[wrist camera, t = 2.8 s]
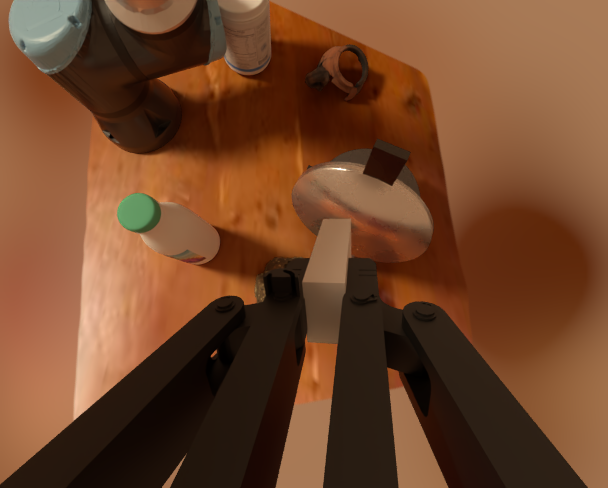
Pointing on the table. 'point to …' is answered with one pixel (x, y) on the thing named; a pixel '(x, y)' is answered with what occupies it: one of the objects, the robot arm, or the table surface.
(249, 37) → the supplement tub
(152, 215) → the milk bottle
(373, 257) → the lid
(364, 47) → the table surface
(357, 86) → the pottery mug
